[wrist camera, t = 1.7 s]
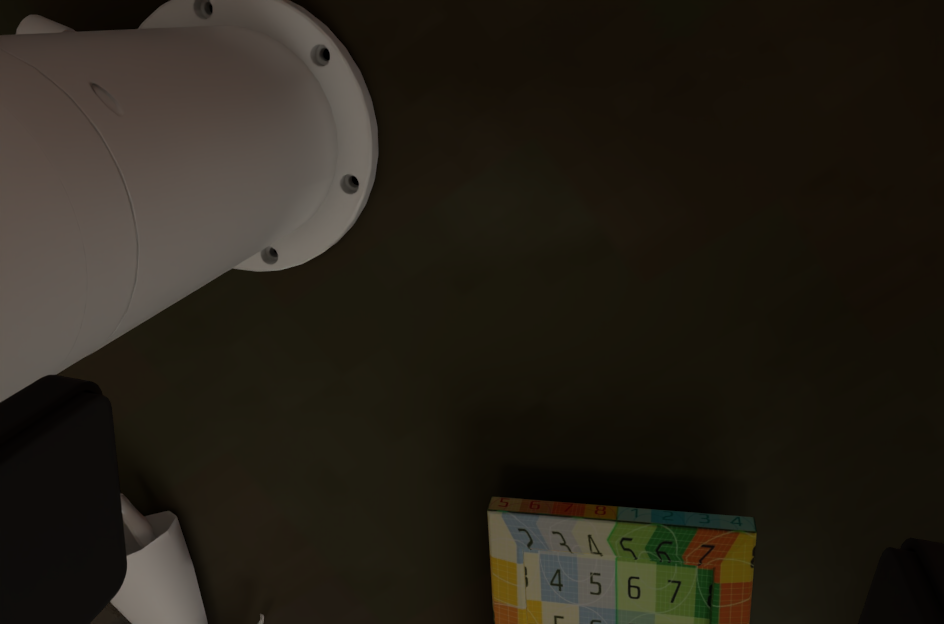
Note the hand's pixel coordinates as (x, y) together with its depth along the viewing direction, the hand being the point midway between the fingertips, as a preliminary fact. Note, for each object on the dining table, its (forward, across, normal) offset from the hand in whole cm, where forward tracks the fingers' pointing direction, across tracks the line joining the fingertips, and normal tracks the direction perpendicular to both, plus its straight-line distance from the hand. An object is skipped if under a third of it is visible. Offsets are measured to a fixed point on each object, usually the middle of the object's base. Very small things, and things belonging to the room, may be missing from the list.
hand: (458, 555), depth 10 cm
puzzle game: (+27, -4, +25) cm, 37 cm away
